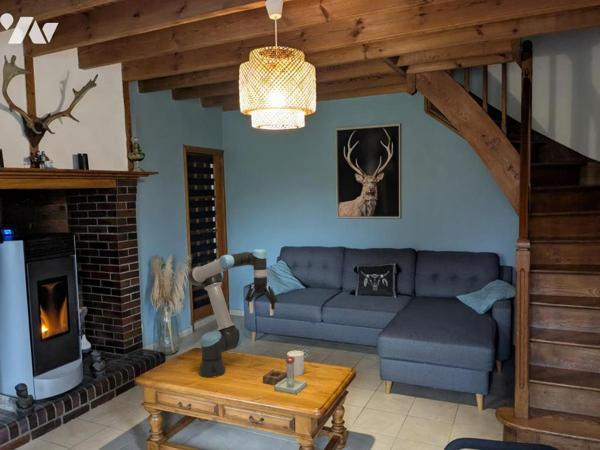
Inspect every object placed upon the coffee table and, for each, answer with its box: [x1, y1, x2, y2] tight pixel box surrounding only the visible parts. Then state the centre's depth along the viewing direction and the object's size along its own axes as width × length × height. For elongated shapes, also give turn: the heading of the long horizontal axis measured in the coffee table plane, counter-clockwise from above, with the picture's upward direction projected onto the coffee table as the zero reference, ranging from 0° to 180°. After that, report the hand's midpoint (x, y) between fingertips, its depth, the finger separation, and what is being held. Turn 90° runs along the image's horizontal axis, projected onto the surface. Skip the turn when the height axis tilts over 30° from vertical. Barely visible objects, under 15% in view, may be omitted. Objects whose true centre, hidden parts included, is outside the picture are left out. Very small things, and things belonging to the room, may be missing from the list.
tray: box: [273, 378, 307, 396], centre depth 246 cm, size 13×12×3 cm
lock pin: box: [285, 357, 295, 388], centre depth 245 cm, size 5×5×16 cm
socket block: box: [262, 369, 287, 386], centre depth 256 cm, size 10×10×4 cm
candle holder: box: [286, 350, 305, 377], centre depth 266 cm, size 10×10×12 cm
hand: (261, 314), depth 260 cm, fingers open, 13 cm apart
